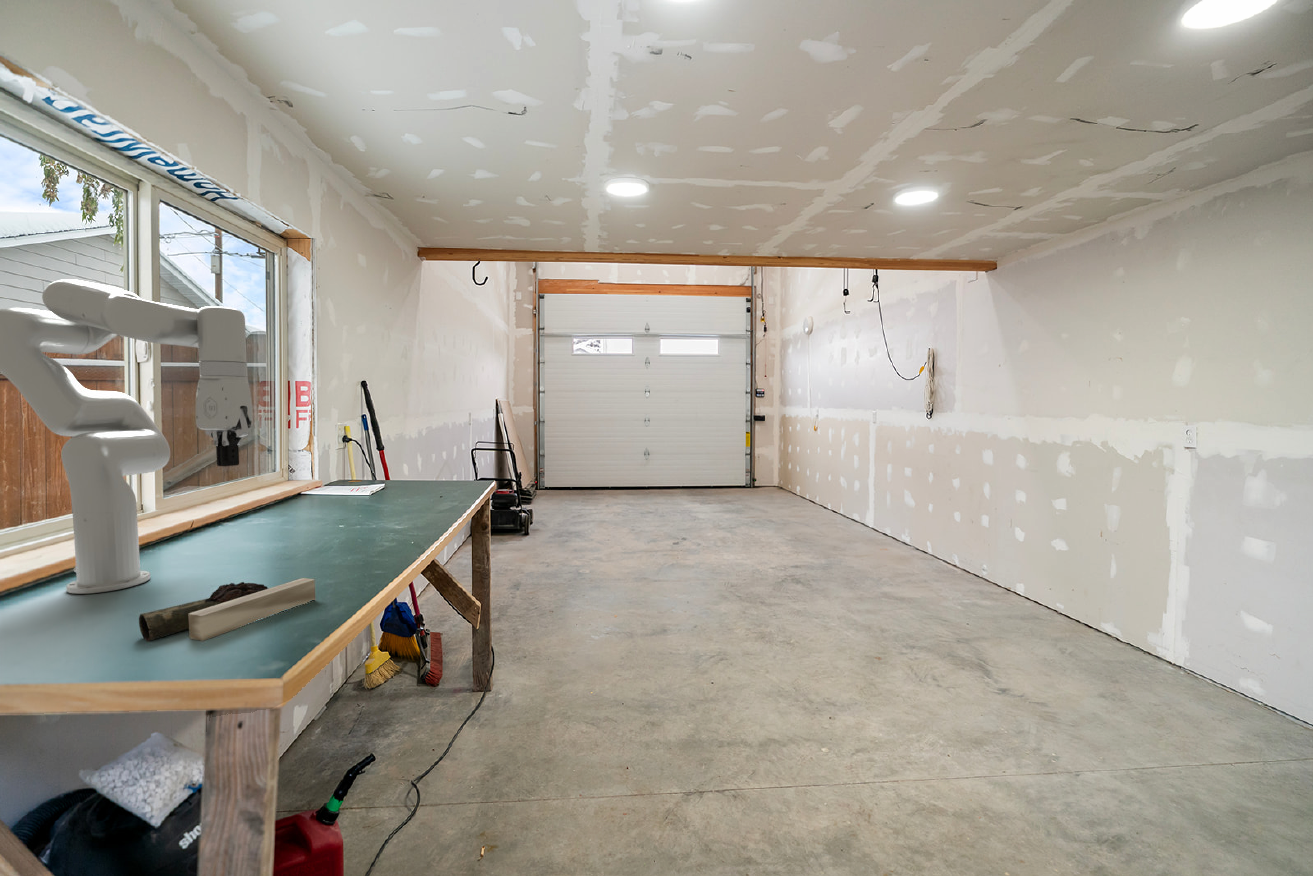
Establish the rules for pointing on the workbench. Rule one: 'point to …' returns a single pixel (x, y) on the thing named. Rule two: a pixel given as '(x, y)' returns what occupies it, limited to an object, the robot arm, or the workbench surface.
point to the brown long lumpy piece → (190, 610)
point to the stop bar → (249, 608)
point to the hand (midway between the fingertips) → (228, 465)
